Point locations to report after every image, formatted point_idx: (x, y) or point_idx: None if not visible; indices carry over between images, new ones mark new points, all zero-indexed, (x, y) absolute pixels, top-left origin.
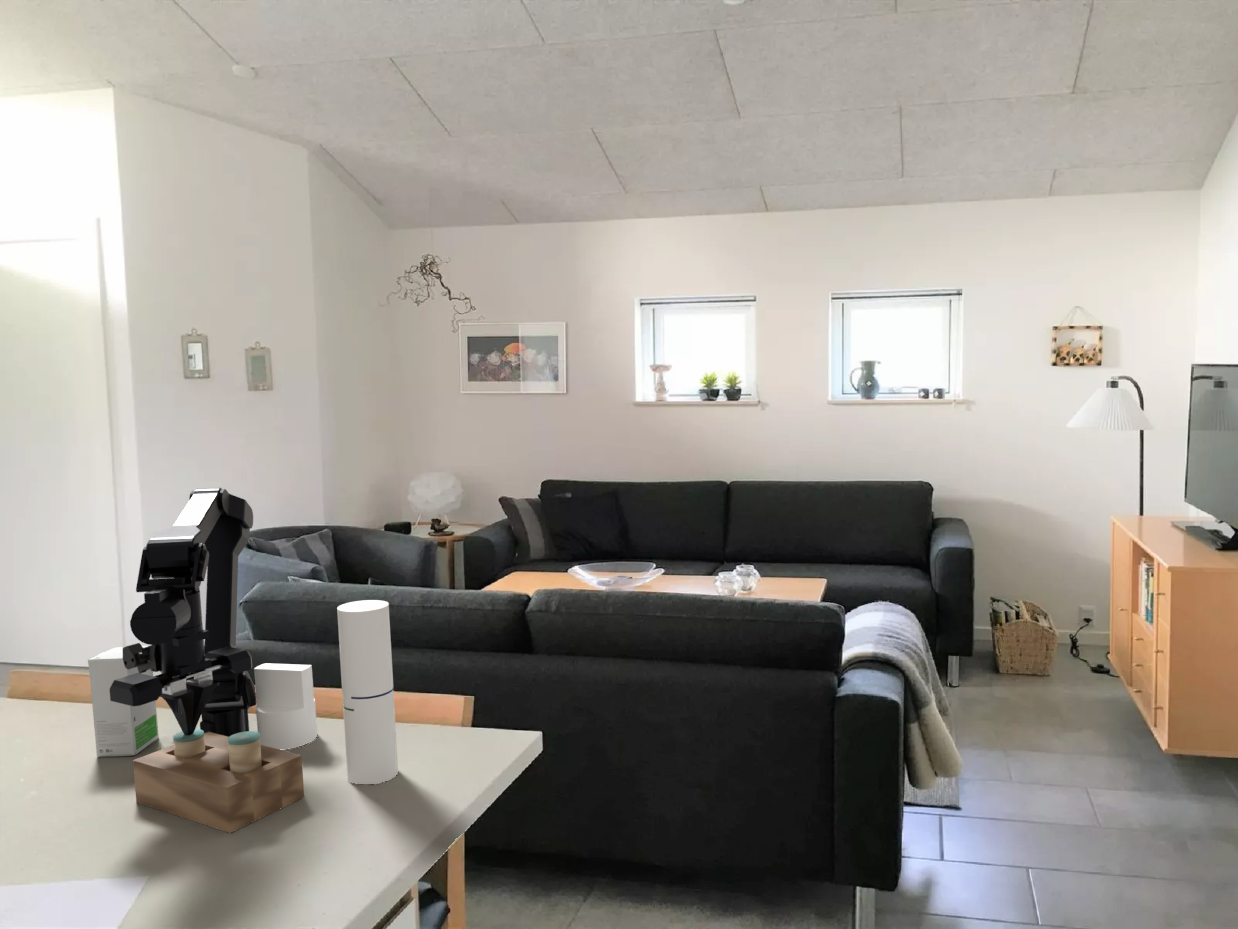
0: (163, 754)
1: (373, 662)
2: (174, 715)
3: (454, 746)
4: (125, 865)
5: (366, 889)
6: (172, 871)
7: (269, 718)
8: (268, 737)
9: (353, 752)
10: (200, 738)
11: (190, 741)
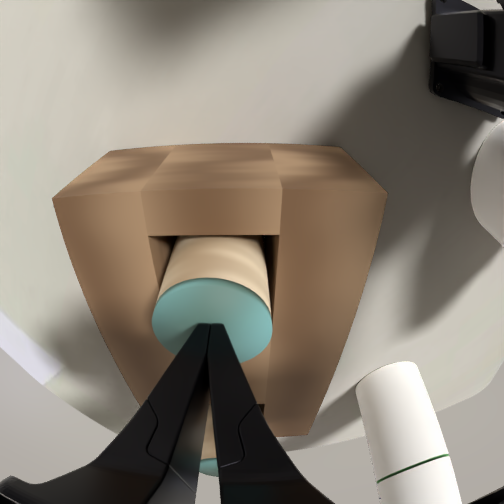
0: (139, 241)
1: None
2: (151, 391)
3: (465, 375)
4: (46, 334)
5: None
6: (85, 376)
7: None
8: (489, 193)
9: (365, 425)
10: None
11: None
